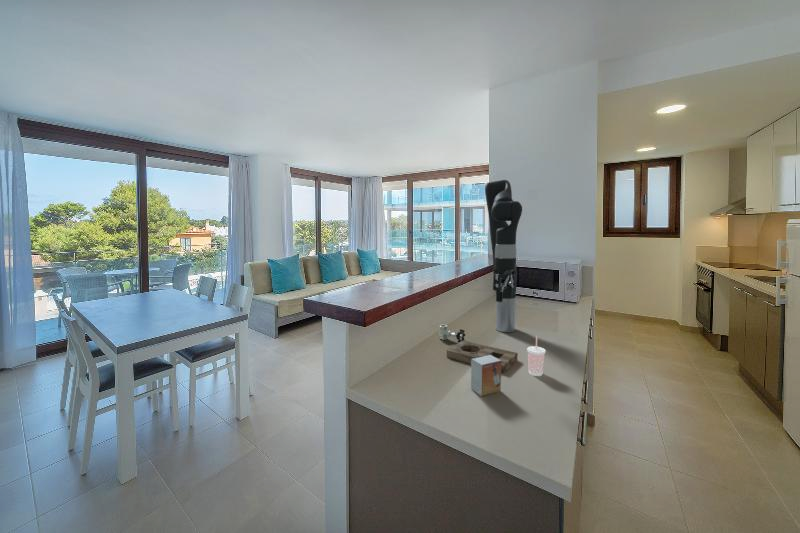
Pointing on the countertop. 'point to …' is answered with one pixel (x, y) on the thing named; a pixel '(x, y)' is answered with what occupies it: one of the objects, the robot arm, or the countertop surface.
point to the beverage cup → (535, 359)
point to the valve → (450, 333)
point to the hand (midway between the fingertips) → (504, 299)
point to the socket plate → (481, 353)
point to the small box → (486, 375)
